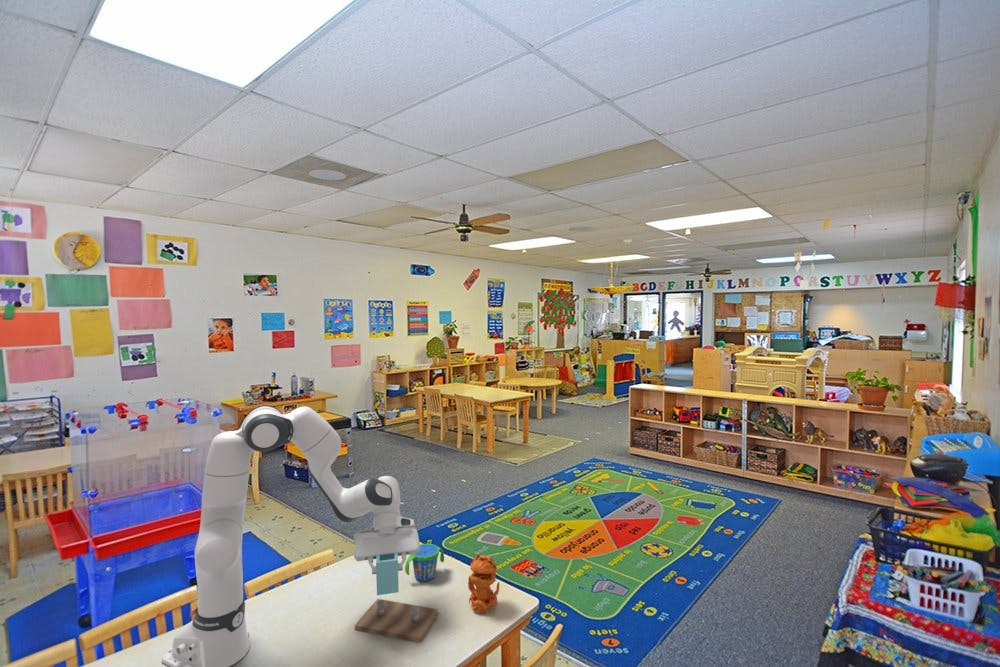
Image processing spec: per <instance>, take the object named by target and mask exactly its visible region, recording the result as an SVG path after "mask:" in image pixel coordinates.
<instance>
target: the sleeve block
mask: <svg viewBox="0 0 1000 667" xmlns="http://www.w3.org/2000/svg"><path fill="white" fill-rule="evenodd" d="M398 557H399V556H398V552H395V553H394V554H389V555H381V556H380V554H379V555H377V556H376V559H375V560H376V561H375V566H376V574H375V576H376V578H375V579H376V596H382V595H389V594H390V595H391V594H397V593H399V592H400V591H399V590H400V589H399V588H400V587H399V584H400V583H399V571H398V563H399V558H398Z"/></svg>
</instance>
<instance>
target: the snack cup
mask: <svg viewBox="0 0 1000 667" xmlns="http://www.w3.org/2000/svg"><path fill="white" fill-rule="evenodd" d="M439 554H440V555H439ZM438 557H439V561H440V562H441V563H444V561H445V554H444V550H443V549H442V548H441V547H439V546H437V545H436V544H434V543H433V544H432V543H422V544H421V543H420V551H419V552H418V553H417V554H411V555H408V557H407V558H406V560H405V567H404V572H405V573H406V574H407V576H409V575H410V563H411V561H412V566H413V575H414V578H415V580H416V581H420V582H428V581H431V580H432V579H434V578H435V576H436V572H437V571H436V570H437V565H438Z"/></svg>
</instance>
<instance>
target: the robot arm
mask: <svg viewBox="0 0 1000 667" xmlns="http://www.w3.org/2000/svg"><path fill="white" fill-rule="evenodd" d="M288 443H292V444H294V446H296V448H298V450H299V451H300V452H301V453H302V454H303V456H304V457H305V459H306V460H307V461H306V462H307V463H306V467H307V471H308V473H309V474H310V477H311V478H312V480H313V481H314V482H315V484H316V486H317V487H318V488H319V490H320V491H321V492H322V494H323V495H324V496H325V498H326V499H327V501H328V503H329V505H330V506H331V508H332V510H333V513H334V515H335V517H336V518H338V519H339V520H340V521H342V522H344V523H351V522H353V521H355V520H356V519H358V518H360V517H362V516H363V515H366V514H368V513H370V512H372V513H373V524H372V526H373V527H370V528H361V529H358V531H355V533H354V535H353V543H354V544H355V545H354V550H353V558H354V560H355V561H356V562H362V561H368V564H369V566H370V568H371V574H372V575H376V565H375V566H374V560H376V556H377V555H379V554H380V556H381V555H389V554H394V553H395V552H398V557H401V561H400V562H398V572H401V571H404V564H405V563H406V561H407V556H410V555H411V554H417V553H418V552H419V551H420V544H421V543H420V538H419V532H418V530H417V528H415V527H416V524H415V520H414V519H412V518H408V517H405V516H401V515H402V514H401V511H400V507H401V491H400V486H399V485H400V484H399V482H398V480H397V479H396V478H395V477H394V476H390V475H384V476H380V477H378V478H377V477H373V478H368V479H366V480H363V481H362V482H360V483H358V484H356V485H354V486H352V487H350V488H346V487H344V486H342V485H341V482H340V481H339V479H337V477H336V475H335V474H334V473H333V471H332V468H331V467H332V464H333V463H334V462H335V461H336V459H337V457H338V456H339V454H340V452H341V449H342V439H341V437H340V435H339V434H338V432H337V431H336V429H334V427H333V426H332V425H331V424H330V423H329V422H328V421H327V420H326V419H325V418H324V417H323V416H322V415H320V414H319V413H318V412H317V411H316V410H314V409H313V408H311V407H309V406H300V407H296V408H294V409H293V410H292V411H291V412H289V413H284V414H282V411H280V409H278V408H277V407H275V406H273V405H268V404H264V405H259V406H256V407H255V408H252V409H251V410H250V411H249V412H248V413H247V414H246V415H245V417H244V418H243V420H242V421H241V423H239V424H238V426H237V430H228V431H223V432H221V433H219V434H217V435H215V436H214V438H212V441H211V443H210V446H209V450H208V453H207V457H206V460H205V461H206V463H205V468H204V477H203V486H202V495H201V512H200V513H201V514H200V524H199V525H200V526H199V531H198V532H199V533H198V536H197V539H196V544H195V547H194V565H195V566H194V567H195V576H196V577H195V578H196V584H197V607H196V608H194V609H193V610H192V611H191V612H189V614H190V615H189V617H193V619H192V620H191V621H189V622H188V623H187V624H185V626H183V627H182V628H181V629H179V631H178V632H177V633H176V634H175V636H174V637H173V641H172V646H171V647H170V648H168V649H167V650H166V652H165V653H164V654H163V656H162V658H161V662H162V664H165V665H167V666H168V667H231V666H232V665H234V664H236V663H239V661H240V660H241V659H243V658H244V657H245V656H246V655H247V654H248V652H249V651H250V647H251V642H250V638H249V634H250V632H249V629H248V628H247V621H246V620H247V619H246V599H245V597H244V576H243V575H244V574H243V573H244V571H243V533H244V532H243V531H244V521H245V512H246V503H247V499H248V498H247V496H248V488H249V478H250V468H251V461H252V460H251V459H252V455H253V453H254V452H255V451H256V452H260V453H266V452H270V451H273V450H275V449H277V448H280V447H281V446H284V445H286V444H288ZM193 615H194V616H193Z"/></svg>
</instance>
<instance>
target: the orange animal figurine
mask: <svg viewBox="0 0 1000 667" xmlns="http://www.w3.org/2000/svg"><path fill="white" fill-rule="evenodd" d="M470 570H471V572H472V573H471V574H470V575H469V576H468V582H467V587H468V591H469V592H470V593H471V594H470V597H469V599H468V604H471V609H472V611H474V610H475V611H477V612H478V613H488V612H489V611H490V610H491V609H492V606H493V607H494V609H497V606H498V597H497V596H498V595H499V592H500V582H499V581H498V582H497V583H496V590H495V591H494V590H493V589H492V588H491V586H492V585H493V584H494V583H495V582H496V581H497V578H496V577H497V576H496V575H497V574H496V573H497V570H498V567H497V564H496V562H495V560H494V559H493V557H490V556H487V555H485V554H482V555H481V554H476V557H474V558H473V559H472V560H471V563H470Z"/></svg>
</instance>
